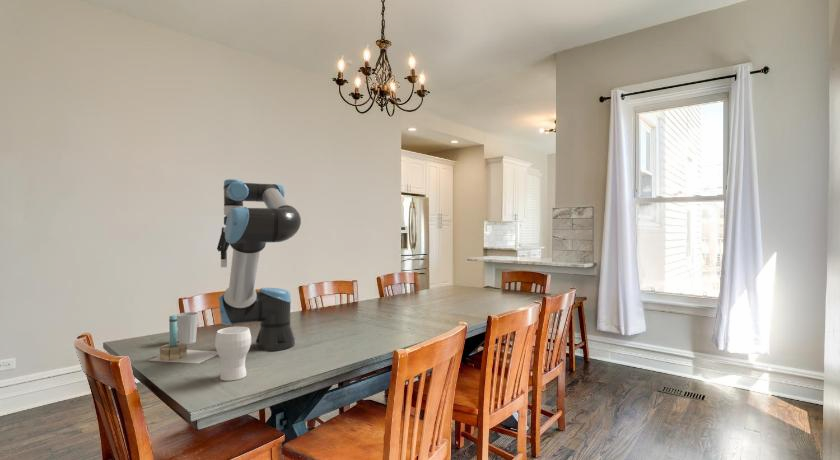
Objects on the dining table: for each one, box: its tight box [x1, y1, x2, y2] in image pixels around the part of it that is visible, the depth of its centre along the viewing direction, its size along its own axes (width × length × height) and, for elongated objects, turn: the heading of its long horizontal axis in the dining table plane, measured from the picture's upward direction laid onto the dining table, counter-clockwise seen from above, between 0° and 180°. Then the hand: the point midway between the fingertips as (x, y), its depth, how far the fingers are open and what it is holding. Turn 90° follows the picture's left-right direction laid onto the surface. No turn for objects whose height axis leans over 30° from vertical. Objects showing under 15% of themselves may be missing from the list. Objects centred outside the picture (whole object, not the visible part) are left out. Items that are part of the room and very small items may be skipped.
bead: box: [159, 342, 188, 361], centre depth 155 cm, size 8×8×4 cm
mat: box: [148, 349, 219, 364], centre depth 157 cm, size 20×14×1 cm
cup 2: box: [214, 326, 252, 382], centre depth 136 cm, size 11×11×15 cm
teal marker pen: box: [168, 314, 178, 348], centre depth 155 cm, size 2×2×15 cm
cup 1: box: [176, 311, 199, 345], centre depth 175 cm, size 8×8×12 cm
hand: (233, 265), depth 181 cm, fingers open, 13 cm apart
